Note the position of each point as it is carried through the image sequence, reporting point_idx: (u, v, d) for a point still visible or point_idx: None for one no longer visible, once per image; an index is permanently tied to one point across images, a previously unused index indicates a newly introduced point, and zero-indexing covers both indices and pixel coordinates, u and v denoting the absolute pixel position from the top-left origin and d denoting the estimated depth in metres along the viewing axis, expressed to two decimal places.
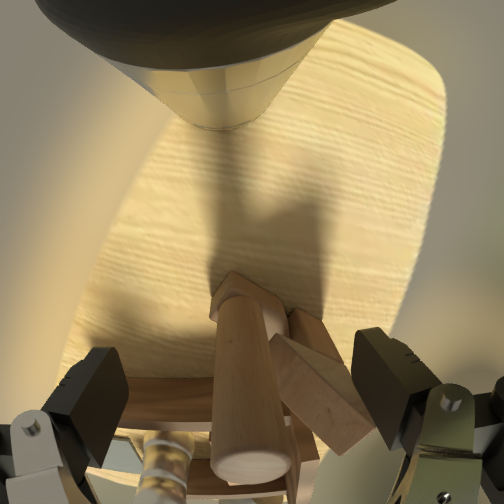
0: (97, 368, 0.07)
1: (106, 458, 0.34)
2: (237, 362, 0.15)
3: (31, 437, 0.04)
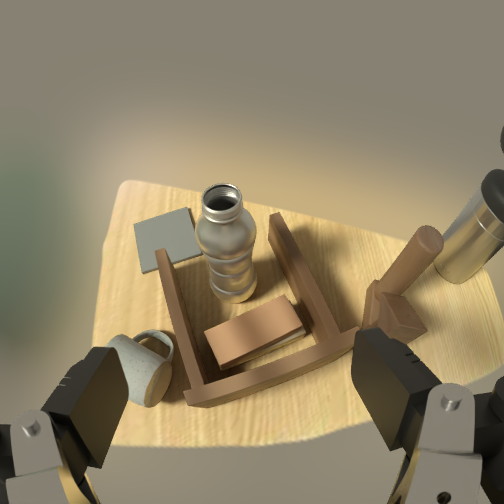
0: (97, 368, 0.07)
1: (158, 234, 0.49)
2: None
3: (31, 437, 0.04)
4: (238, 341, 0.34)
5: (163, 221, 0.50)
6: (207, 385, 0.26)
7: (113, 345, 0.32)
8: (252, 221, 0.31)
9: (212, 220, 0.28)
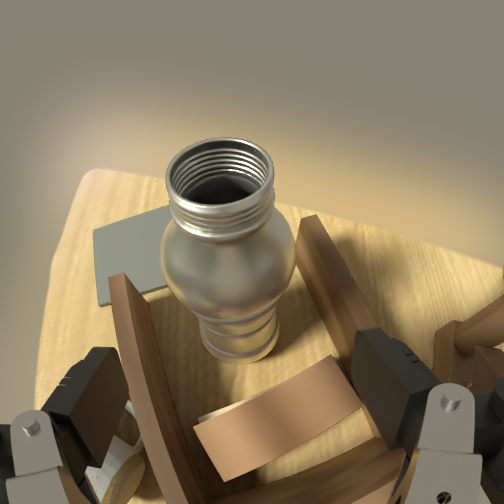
0: (97, 368, 0.07)
1: (125, 245, 0.31)
2: None
3: (31, 437, 0.04)
4: (254, 442, 0.17)
5: (134, 226, 0.33)
6: None
7: None
8: (290, 233, 0.13)
9: (193, 231, 0.10)
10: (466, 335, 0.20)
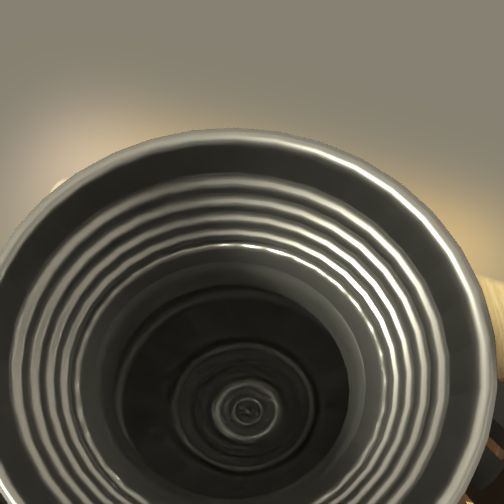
0: None
1: None
2: None
3: None
4: None
5: None
6: None
7: None
8: None
9: None
10: None
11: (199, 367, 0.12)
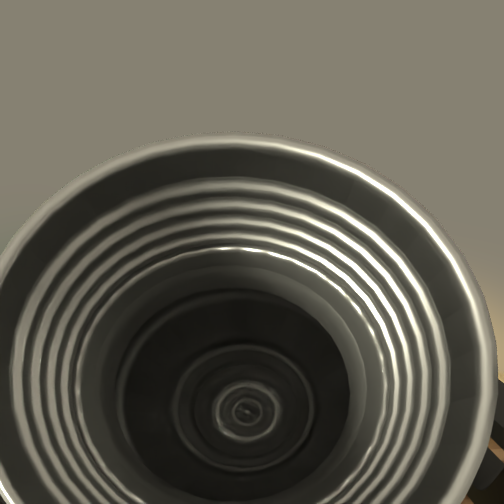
0: None
1: None
2: None
3: None
4: None
5: None
6: None
7: None
8: None
9: None
10: None
11: (199, 368, 0.12)
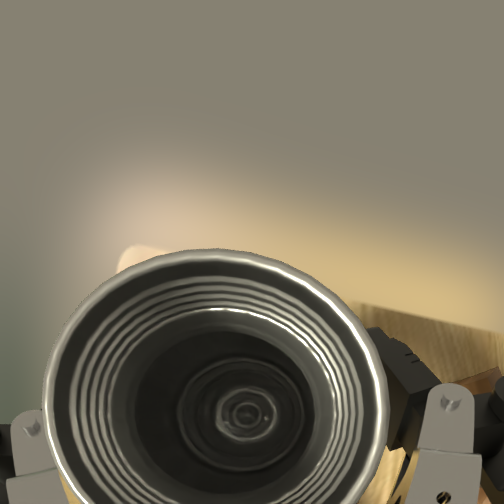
0: None
1: None
2: None
3: (31, 437, 0.04)
4: None
5: None
6: None
7: None
8: None
9: None
10: None
11: (201, 378, 0.13)
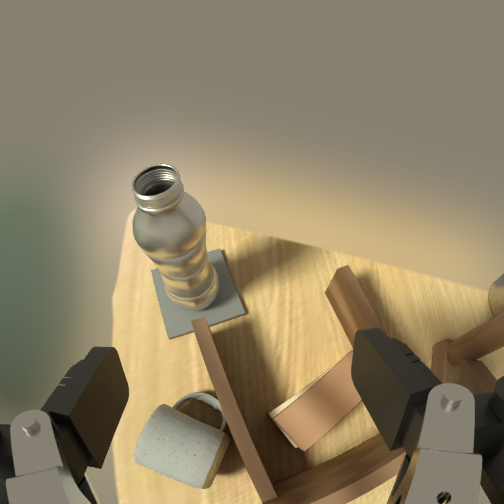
0: (97, 368, 0.07)
1: None
2: None
3: (31, 437, 0.04)
4: (318, 417, 0.25)
5: None
6: None
7: (155, 425, 0.23)
8: (199, 211, 0.25)
9: (144, 209, 0.21)
10: (455, 351, 0.28)
11: None
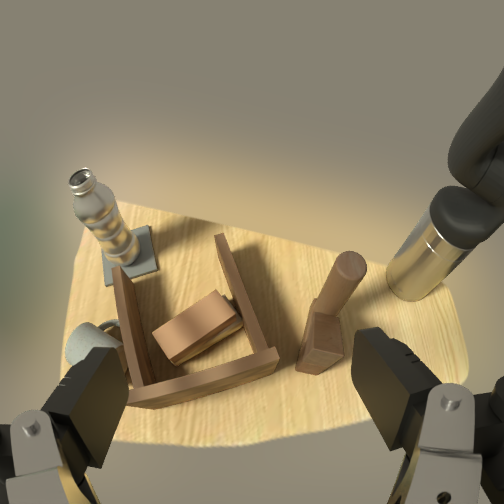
0: (97, 368, 0.07)
1: None
2: None
3: (31, 437, 0.04)
4: (181, 336, 0.38)
5: None
6: (137, 389, 0.29)
7: (79, 331, 0.37)
8: (107, 194, 0.38)
9: (74, 193, 0.34)
10: (314, 306, 0.41)
11: None
